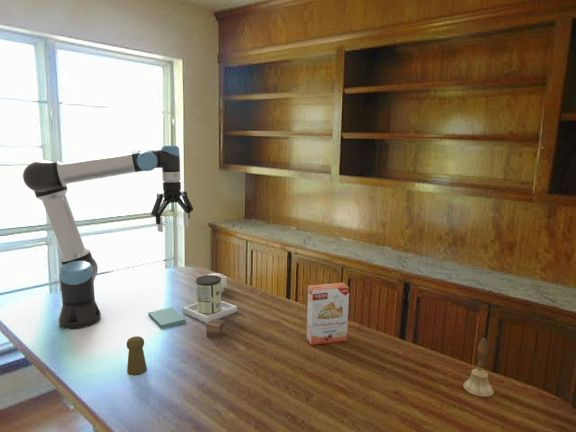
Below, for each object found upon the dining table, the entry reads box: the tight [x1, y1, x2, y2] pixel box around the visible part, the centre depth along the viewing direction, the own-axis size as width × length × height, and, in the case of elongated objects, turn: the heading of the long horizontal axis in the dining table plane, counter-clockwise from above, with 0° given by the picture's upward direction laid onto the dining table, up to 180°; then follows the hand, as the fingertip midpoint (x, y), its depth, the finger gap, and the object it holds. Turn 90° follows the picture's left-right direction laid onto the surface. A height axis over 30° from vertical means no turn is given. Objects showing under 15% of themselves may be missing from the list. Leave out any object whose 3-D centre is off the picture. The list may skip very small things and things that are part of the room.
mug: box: [207, 272, 228, 294], centre depth 207 cm, size 10×8×8 cm
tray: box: [182, 300, 238, 324], centre depth 182 cm, size 16×16×2 cm
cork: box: [126, 335, 148, 377], centre depth 135 cm, size 6×6×11 cm
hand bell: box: [462, 337, 494, 398], centre depth 126 cm, size 8×8×16 cm
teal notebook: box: [147, 307, 187, 330], centre depth 175 cm, size 10×15×2 cm, turn 36°
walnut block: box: [205, 319, 226, 339], centre depth 161 cm, size 5×5×5 cm
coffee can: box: [195, 274, 222, 315], centre depth 180 cm, size 10×10×14 cm
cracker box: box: [306, 282, 350, 346], centre depth 156 cm, size 14×6×21 cm, turn 105°
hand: (173, 229), depth 192 cm, fingers open, 13 cm apart
